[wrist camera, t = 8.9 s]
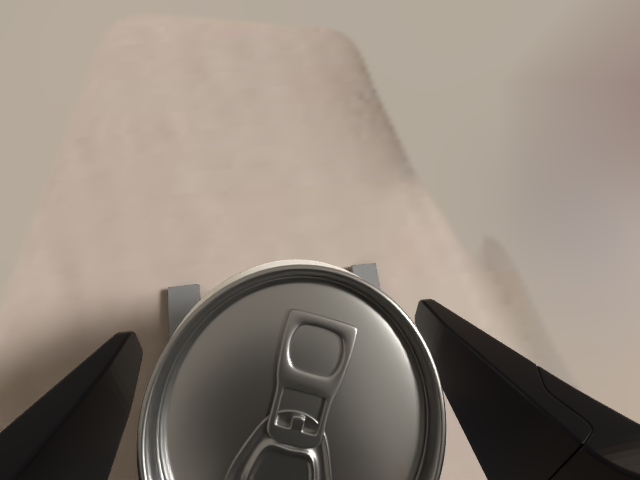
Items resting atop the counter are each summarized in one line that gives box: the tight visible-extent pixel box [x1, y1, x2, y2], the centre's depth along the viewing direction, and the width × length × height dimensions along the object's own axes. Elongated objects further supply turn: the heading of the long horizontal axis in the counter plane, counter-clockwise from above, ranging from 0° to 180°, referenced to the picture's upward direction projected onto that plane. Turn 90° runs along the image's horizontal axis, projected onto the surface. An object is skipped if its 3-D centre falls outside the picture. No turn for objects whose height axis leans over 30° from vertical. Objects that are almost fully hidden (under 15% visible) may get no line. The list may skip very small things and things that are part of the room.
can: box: [137, 260, 446, 480], centre depth 11 cm, size 6×6×12 cm
